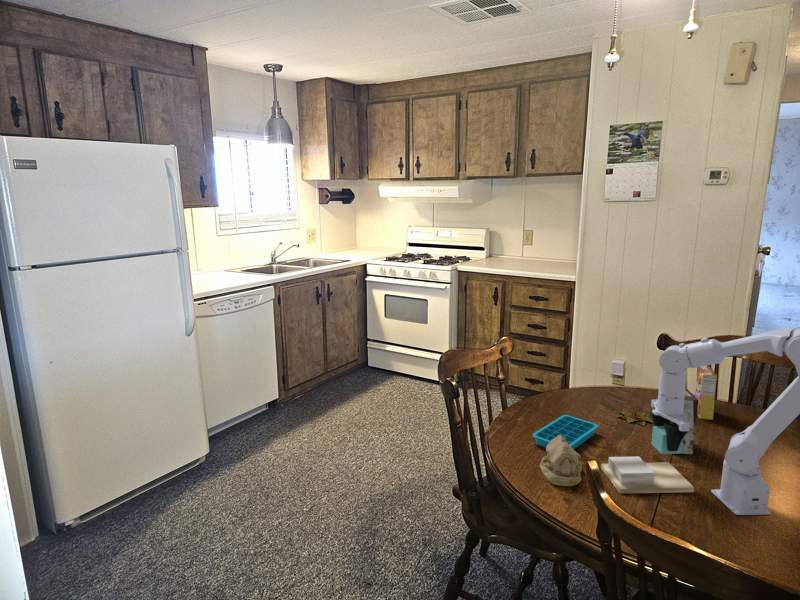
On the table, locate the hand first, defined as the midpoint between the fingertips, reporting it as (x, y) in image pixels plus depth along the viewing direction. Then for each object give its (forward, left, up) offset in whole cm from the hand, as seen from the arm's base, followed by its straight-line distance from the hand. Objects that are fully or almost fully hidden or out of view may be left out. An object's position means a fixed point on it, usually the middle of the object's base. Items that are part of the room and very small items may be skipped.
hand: (666, 445), depth 127 cm
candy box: (+38, -32, -10) cm, 51 cm away
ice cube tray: (+23, +18, -10) cm, 31 cm away
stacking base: (0, +5, -9) cm, 11 cm away
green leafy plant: (+36, -9, -10) cm, 39 cm away
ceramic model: (+4, +24, -10) cm, 27 cm away
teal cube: (0, 0, -1) cm, 1 cm away
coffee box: (+17, -12, -10) cm, 23 cm away
